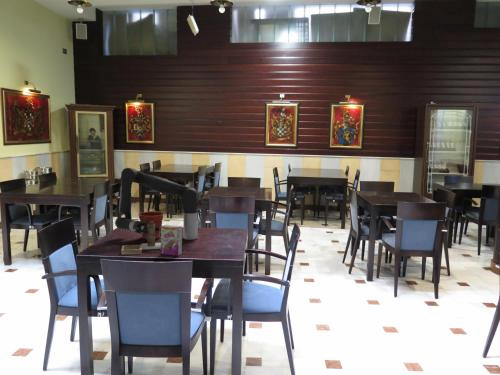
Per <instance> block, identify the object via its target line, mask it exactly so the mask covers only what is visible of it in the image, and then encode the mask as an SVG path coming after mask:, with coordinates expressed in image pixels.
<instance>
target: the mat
mask: <svg viewBox="0 0 500 375" xmlns="http://www.w3.org/2000/svg"><path fill="white" fill-rule="evenodd" d="M140 245H142V250H161V242H155V246H147V242H146V243H144V242H143V243H140Z"/></svg>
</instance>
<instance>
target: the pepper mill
mask: <svg viewBox="0 0 500 375" xmlns="http://www.w3.org/2000/svg"><path fill="white" fill-rule="evenodd" d="M147 230H148V233H147V239H146V240H147V242H146V243H147V246H155V243H156V238H155V224H154V223H153V221H150V222H149V224H147Z"/></svg>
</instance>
